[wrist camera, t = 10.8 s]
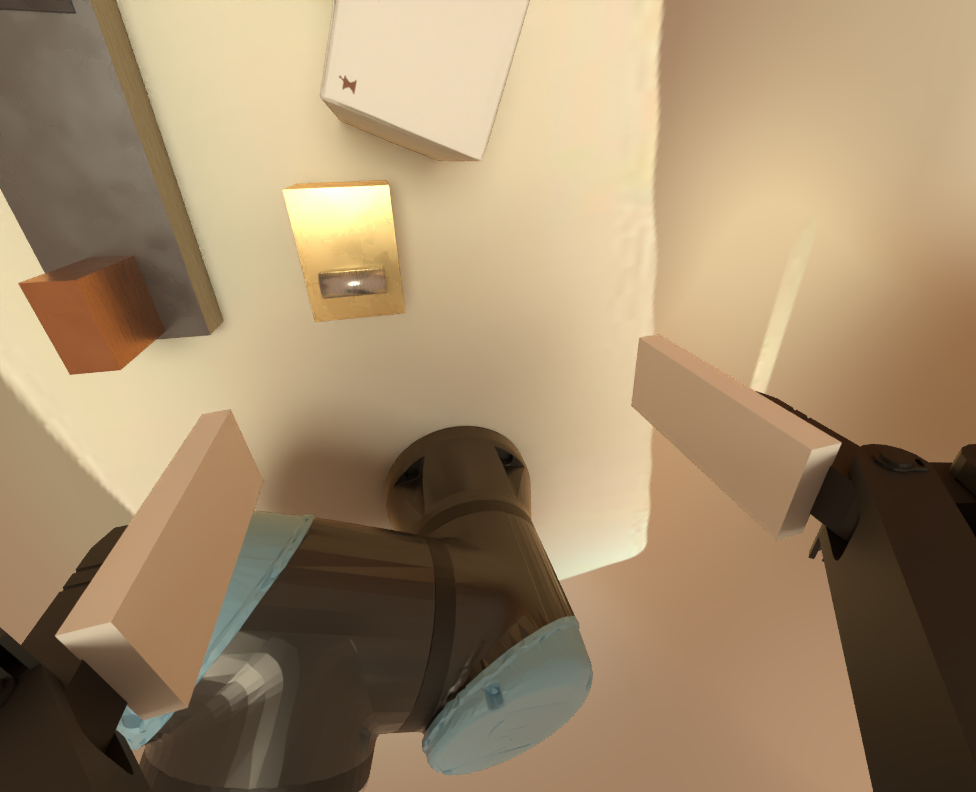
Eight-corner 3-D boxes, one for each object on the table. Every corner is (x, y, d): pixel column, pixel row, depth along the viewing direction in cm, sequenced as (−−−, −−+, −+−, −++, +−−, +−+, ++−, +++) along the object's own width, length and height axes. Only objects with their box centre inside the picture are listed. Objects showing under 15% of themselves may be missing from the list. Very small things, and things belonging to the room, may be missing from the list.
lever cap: (400, 291, 34) (406, 319, 28) (323, 298, 33) (312, 329, 27) (386, 180, 30) (389, 186, 24) (297, 183, 29) (277, 191, 23)
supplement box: (443, 164, 30) (482, 170, 19) (335, 119, 27) (312, 98, 17) (477, 42, 27) (544, -31, 16) (360, -22, 24) (350, -158, 14)
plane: (223, 320, 32) (176, 372, 24) (107, 329, 30) (18, 388, 23) (59, -168, 20) (-139, -371, 12) (-148, -195, 18) (-522, -446, 11)
